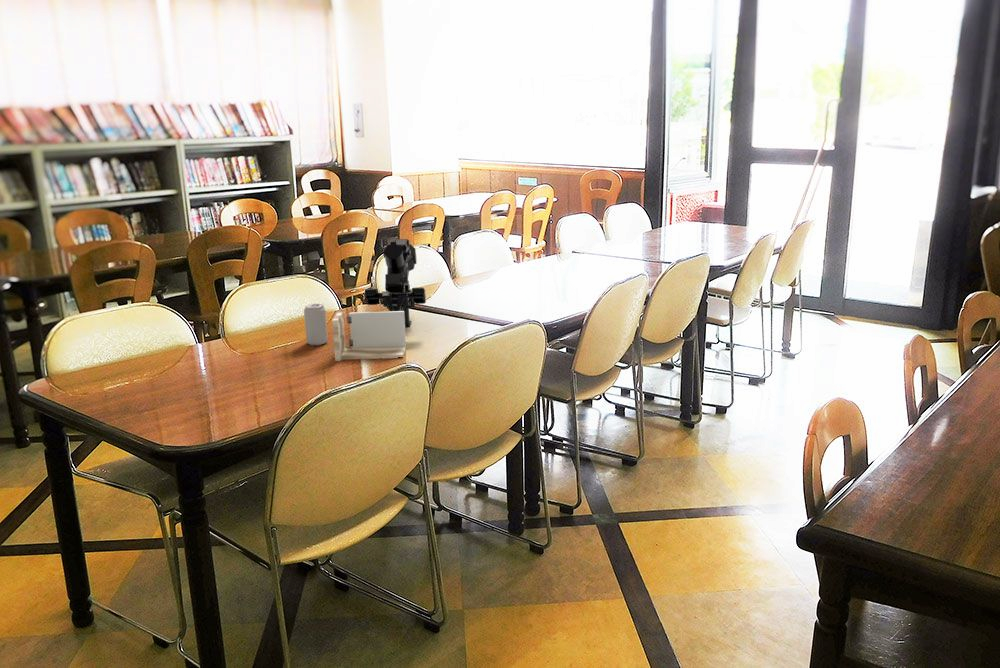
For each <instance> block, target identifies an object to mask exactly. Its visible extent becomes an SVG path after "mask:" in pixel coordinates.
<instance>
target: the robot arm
mask: <svg viewBox="0 0 1000 668" xmlns="http://www.w3.org/2000/svg"><path fill="white" fill-rule="evenodd" d="M382 255H383V258H384V259H385V264H386V267H387V271H386V274H384V275H385V277H384V279H385V280H384V281H385V283H384V290H385V291H384V290H383V291H382V292H379V290H378V289H379V288H366V289H365V290H364V300H365V303H366V305H368V306H378V304H380V300H381V302H382V305H383V307H384V308H385V307H386V309H387V310H388V311H404V317H405V328H406V327H409V328H410V327H411V325H412V320H410V309H413V308H415V307H416V305H419V304H420V305H422V304H423V305H424V304H426V302H427V298H426V297H427V296H426V295H427V294H426V289H425V288H424V287H421V286H420V287H412V288H411V285H410V283H409V282H410V281H409V275H410V272H411V271H413V270H414V269H415V265H416V264H417V261H418V260H417V252H416V248H415V247H414V246H413V244H411V243H410V239H408V238H396V239H395V240H394V241H390V243H387V244H386V246H385V247H384V248H383V253H382ZM415 304H416V305H415Z"/></svg>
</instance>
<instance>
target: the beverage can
mask: <svg viewBox="0 0 1000 668" xmlns="http://www.w3.org/2000/svg"><path fill="white" fill-rule="evenodd" d="M303 313H304V315H303V316H304V325H305V326H304V327H305V328H304V329H305V336H306V339H305V340H306V343H307V344H309V345H310V346H314V345H316V346H322V344H323V345H325V344H327V342H328V340H329V338H328V337H329V336H328V326H327V316H326V315H327V313H326V308H325V305H324V304H323V303H311V304H310V303H309V304H306V305H305V306H304V310H303Z"/></svg>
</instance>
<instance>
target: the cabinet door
mask: <svg viewBox="0 0 1000 668" xmlns="http://www.w3.org/2000/svg"><path fill="white" fill-rule="evenodd" d="M346 320H347V321H346V323H347V324H349V328H350V338H348V347H351V348H388V347H405V349H406V348H407V342H406V327H405V317H404V311H389V310H388V311H356V312H353V311H352V312H349V313H348V315H347V316H346Z"/></svg>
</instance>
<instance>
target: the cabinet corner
mask: <svg viewBox="0 0 1000 668" xmlns="http://www.w3.org/2000/svg"><path fill="white" fill-rule="evenodd" d="M344 319H345V318H344V312H343V311H338V312H337V313H336V314H335V315H334V317H333V318H332V320H331V322H332V323H331V324H332V335H333V336H332V337H333V338H332V339H333V350H334V362H341V361H342V360H366V359H367V360H368V359H369V360H371V359H373V360H374V359H376V360H377V359H379V360H380V358H381V359H399V358H398V357H403V356H404V357H405V354H404V353H405V352H406V348H405V347H388V348H352V347H351V348H346V347H347V345H346V332H345V320H344ZM404 357H403V358H404Z"/></svg>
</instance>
